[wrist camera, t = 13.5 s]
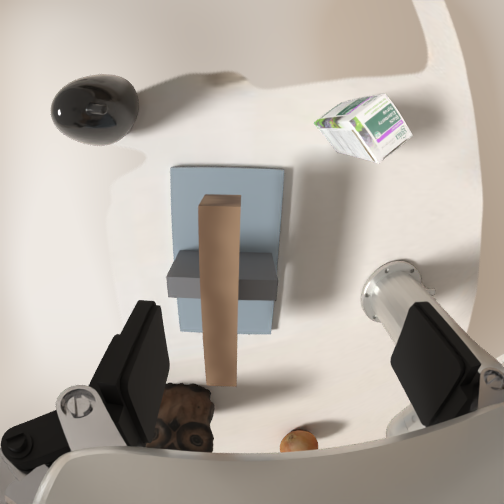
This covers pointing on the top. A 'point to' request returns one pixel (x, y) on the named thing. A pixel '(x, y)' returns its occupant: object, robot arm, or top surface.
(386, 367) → the top surface
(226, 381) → the walnut bar
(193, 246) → the balance stand
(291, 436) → the onion
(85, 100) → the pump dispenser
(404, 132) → the syrup box
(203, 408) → the owl
